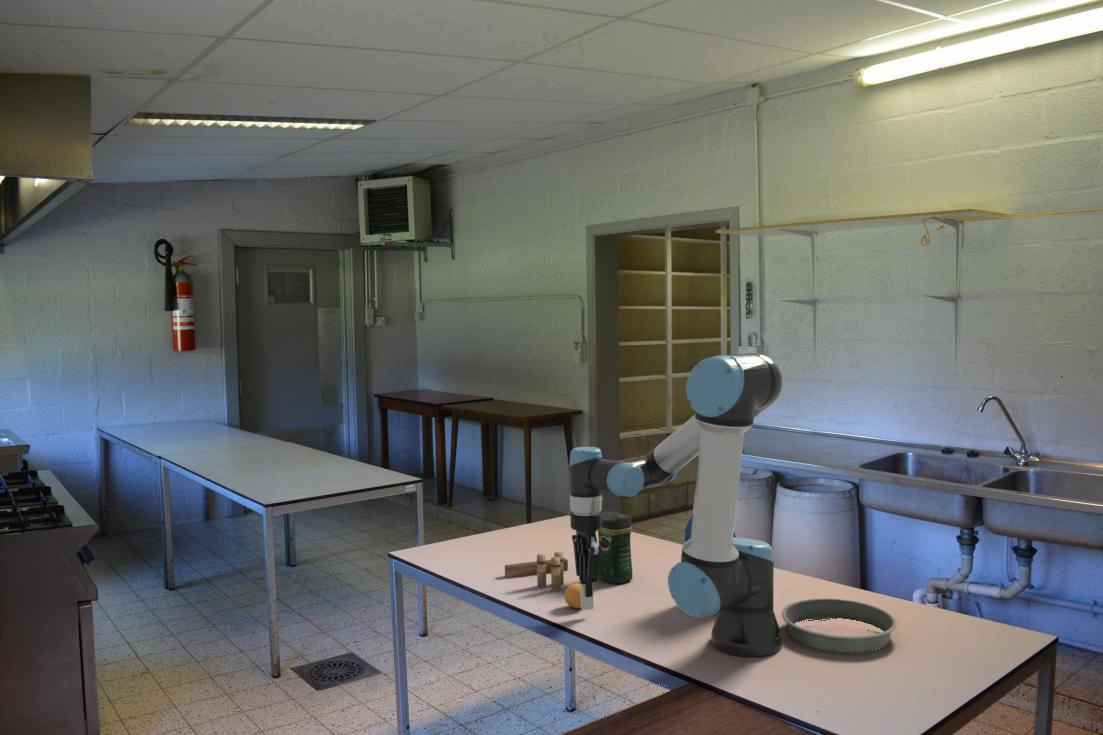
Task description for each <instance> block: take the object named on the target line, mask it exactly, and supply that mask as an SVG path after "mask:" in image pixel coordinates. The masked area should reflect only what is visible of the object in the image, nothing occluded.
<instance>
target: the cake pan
mask: <svg viewBox="0 0 1103 735" xmlns="http://www.w3.org/2000/svg"><path fill="white" fill-rule="evenodd" d="M781 616H782V619H783V620H784V622H785V623H787V628H788V631H789V634H790V633H791V634H790V635H791V636H793V637H794V639H795V640H796V639H797V640H796V641H798V642H799V641H800V642H799V643H801V642H802V644H803V643H804V645H806V646H808V645H809V646H808V647H811V646H812V648H814V647H815V649H818V650H822V649H823V651H827V650H828V652H833V651H836V652H835V653H842V652H862V653H868V652H867V651H870V652H873V651H872V650H875V649H878V650H880V649H879V648H881V649H883V648H884V646H885V645H886V644H887V643H889V642H890V637H891V634H892V632H894V631H895V630H896V628H897V625H898V623H897V619H896V617H894V616H893V614H891V613H890V612H888V611H886V610H884V609H882V608H880V607H877V606H875V605H872V604H867V603H866V602H865V603H864V602H860V601H855V600H848V599H842V598H825V597H824V598H810V599H809V598H808V599H803V600H799V601H798V600H797V601H794V602H792V603H790V604H788V605H786V606H784V608H783V609H782V610H781ZM828 618H829V619H828ZM830 618H832V619H833V618H834V619H837V618H842V619H850V620H856V621H861V622H864V623H867V624H871V625H873V626H875V627H877V628H880V629H881V630H883V631H884V632H882V633H876V634H870V635H869V634H868V635H859V636H858V635H857V636H856V635H855V636H854V635H853V636H847V635H836V634H835V635H834V634H828V633H827V634H826V633H821V632H817V631H812V630H810V629H808V628H805V627H799V626H797V625H795V623H796V622H800V621H801V622H802V620H803V622H804V620H806V619H808V621H814V620H821V622H822V619H826V620H827V619H828V620H830ZM809 619H811V620H809ZM812 619H813V620H812ZM826 620H823V621H826ZM806 621H807V620H806ZM818 622H819V621H818ZM793 637H792V638H793ZM887 645H888V644H887ZM887 645H886V646H887ZM886 646H885V647H886ZM882 647H883V648H882ZM875 651H876V650H875Z"/></svg>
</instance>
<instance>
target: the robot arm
mask: <svg viewBox="0 0 1103 735" xmlns="http://www.w3.org/2000/svg"><path fill="white" fill-rule="evenodd" d="M782 375H783V374H782V372H781V370H780V368H779V366H778V365H777V364H776V362H775V361H774V360H772V359H771V358H770V357H768V356H767V355H763V354H762V353H756V352H755V353H754V352H752V353H751V352H750V353H740V354H738V353H737V354H718V355H714V356H711V357H708V358H707V357H706V358H704V359H701V361H699V362H698V363H697V364H696V365H695V366H694V367H693V368H692V369H691V370H690V373H689V375H688V377H687V380H686V386H685V389H686V390H685V392H686V397H687V401H688V402H690V407H691V408H692V410H694V411H695V412H694V415H692V416H691V417H690V418H689V419H688V420H686V421H685V422H684V423H683V424H681V426H680V427H678V428H677V429H676V430H675V431H674V432H672V433H671V434H670V435H669V436H667V437H666V438H665V439H663V440H662V441H661V442H660V443H659V444H658V445H657V446H656V447H654V448H653V449H652V450H650V451H649V452H648V453H647V454H644V455H641V456H635V457H631V458H626V459H621V460H612V459H611V460H610V459H605V458H603V455H602V450H601V448H599V447H596V446H579V447H574V448H572V449H571V451H570V454H569V465H568V466H569V484H570V485H569V487H570V488H569V489H570V490H569V491H570V492H569V510H570V511H571V513H570V518H569V519H570V521H569V522H570V528H571V529H572V530H574V531H575V534H572V535H571V540H572V543H573V545H572V546H573V553H574V562H575V563H574V564H575V573H576V576H577V577H578V580H579V581H580V582H579V584H580V595H581V608H580V610H582V611H587V610H588V611H589V610H593V609H594V584H595V583H598V579H599V578H598V570H599V560H600V553H601V550H602V548H601V546H599V545H597V544H598V539H597V538H598V537H597V534H596V532H598V530H599V529H600V528H601V527H602V514H601V513H602V512H601V511H603V510H602V501H603V500H604V497H603V496H602V494H603V493H605V494H606V493H608V494H612V495H615V496H618V497H626V498H627V497H628V498H629V497H630V498H631V497H635V496H637V495H638V493H640V492H641V491H642V490H643V489H647V488H652V487H657V486H664V485H666V484H668V483H671V482H673V481H674V480H675V479H676V478H677V475H678V473H679V470H681V469H682V468H683V467H685V466H686V465H687V464H688V463H690V462H691V461H692V460H693V459H695V458H697V457H698V461H697V470H696V480H695V489H694V490H695V491H694V502H693V503H694V510H693V509H692V510H693V511H692V512H693V513H692V514H693V520H692V530H691V538H690V539H689V540H688V541H687V542H685V541H684V542H683V544H682V548H681V556H680V561H679V562H677V563H676V564H674V566H673V567H672V568H671V569H670V570H669V572H668V576H667V584H668V585H667V586H668V590H669V594H670V596H671V598H672V599H673V600H674V602H675V604H676V606H677V607H678V608H679V609H680V610H681V611H682V612H684V614H686V615H688V616H691V617H693V618H699V619H700V618H705V617H708V616H709V617H710V616H714V615H716V616H715V620H714V623H713V627H712V629H711V644H712V645H713V647H714V648H715V649H717V650H718V651H721V652H723V653H726V654H729V655H735V656H738V657H739V656H741V657H751V658H753V657H765V656H771V655H773V654H776V653H778V652H779V651H780V650H781V649H782V647H783V637H782V636H783V635H782V632H781V630H780V627H779V624H778V620H777V617H776V614H775V611H774V570H775V569H774V566H775V565H774V564H775V560H774V550H773V547H772V546H771V545H770V544H769V543H767V542H766V541H763V540H759V539H755V538H747V537H733V535H734V533H735V525H736V524H735V523H736V516H737V505H738V497H739V487H740V480H741V479H740V478H741V470H742V469H741V468H742V459H743V449H744V439H745V433H746V432H747V431H748V430H749V429H750V428H752V427H753V426H754V421H755V420H754V418H756V417H757V416H758V415H760V414H761V413H762V412H763V411H765V410H766V409H768V408H769V407H770V406H771V405H773V404H774V403H775V402H776V401H777V399H778V398H779V397H780V394H781V391H782V389H783V376H782ZM602 492H603V493H602ZM717 612H718V613H717ZM716 613H717V614H716Z"/></svg>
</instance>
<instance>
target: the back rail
mask: <svg viewBox="0 0 1103 735" xmlns="http://www.w3.org/2000/svg"><path fill="white" fill-rule="evenodd" d="M568 561H569V560H568V559H567V558H565V557H563V572H566V571H569V562H568ZM550 573H551V559H546V574H550ZM534 575H535V576H537V560H536V561H529V562H518V563H511V564H505V565H504V576H505V578H507V579H510V578H519V577H528V576H534Z"/></svg>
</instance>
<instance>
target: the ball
mask: <svg viewBox="0 0 1103 735" xmlns="http://www.w3.org/2000/svg"><path fill="white" fill-rule="evenodd" d="M563 595H564V601H565V603H566V604H567V606H569V607H570V608H572V609H581V595H580V583H577V582H575V583H572V584H570V585H569V586H567V588H566V589H565V591H564V594H563Z"/></svg>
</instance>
